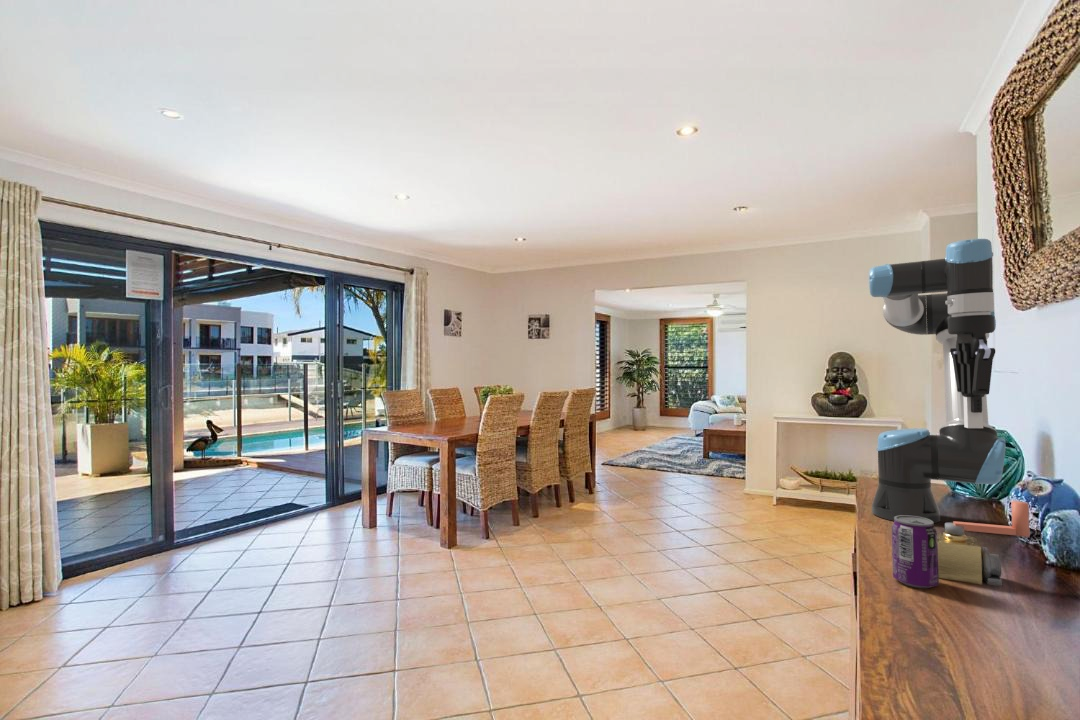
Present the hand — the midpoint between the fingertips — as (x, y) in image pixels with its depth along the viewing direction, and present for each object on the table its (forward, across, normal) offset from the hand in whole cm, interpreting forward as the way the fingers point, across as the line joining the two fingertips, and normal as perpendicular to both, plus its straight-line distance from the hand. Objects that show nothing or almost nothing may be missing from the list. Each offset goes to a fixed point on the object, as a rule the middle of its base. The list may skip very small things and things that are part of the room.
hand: (973, 427), depth 110 cm
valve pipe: (+27, +10, -8) cm, 30 cm away
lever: (+19, +11, -3) cm, 22 cm away
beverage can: (+27, +16, -17) cm, 36 cm away
